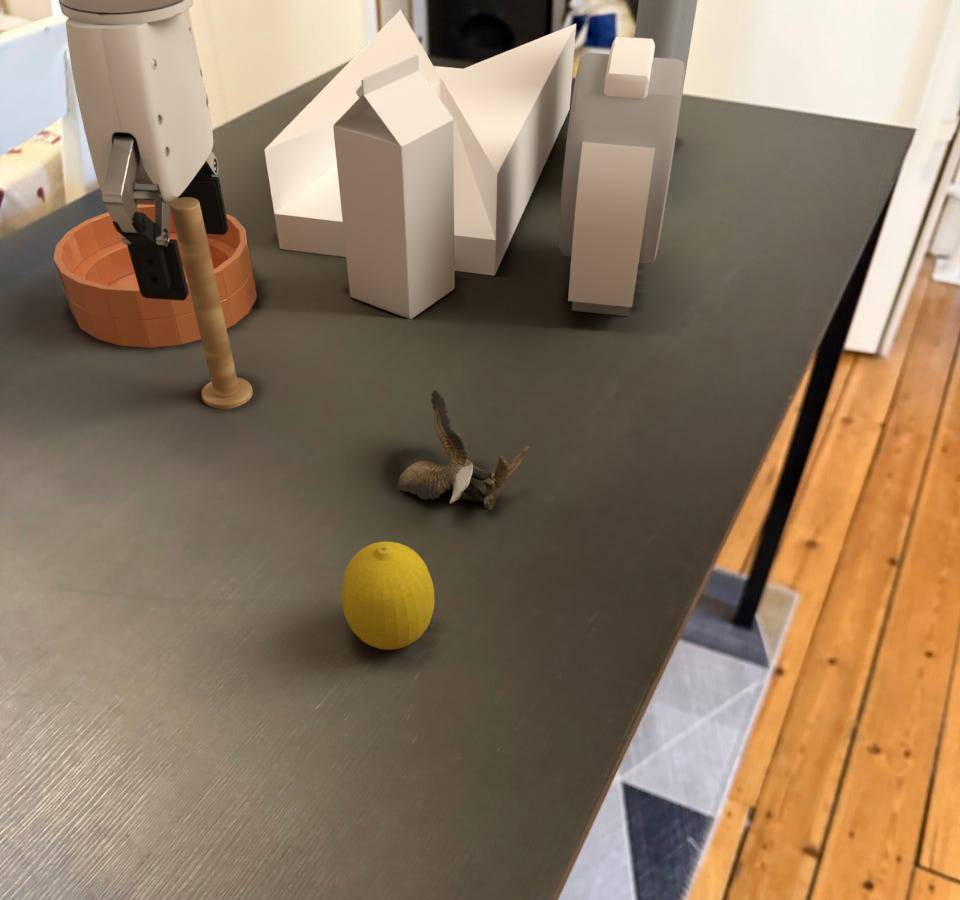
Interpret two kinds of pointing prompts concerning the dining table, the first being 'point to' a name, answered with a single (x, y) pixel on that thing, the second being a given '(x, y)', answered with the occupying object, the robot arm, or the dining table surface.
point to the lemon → (387, 595)
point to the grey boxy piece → (617, 170)
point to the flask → (667, 27)
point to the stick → (207, 307)
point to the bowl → (115, 292)
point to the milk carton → (397, 191)
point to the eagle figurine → (455, 467)
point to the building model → (476, 142)
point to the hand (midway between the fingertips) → (187, 263)
